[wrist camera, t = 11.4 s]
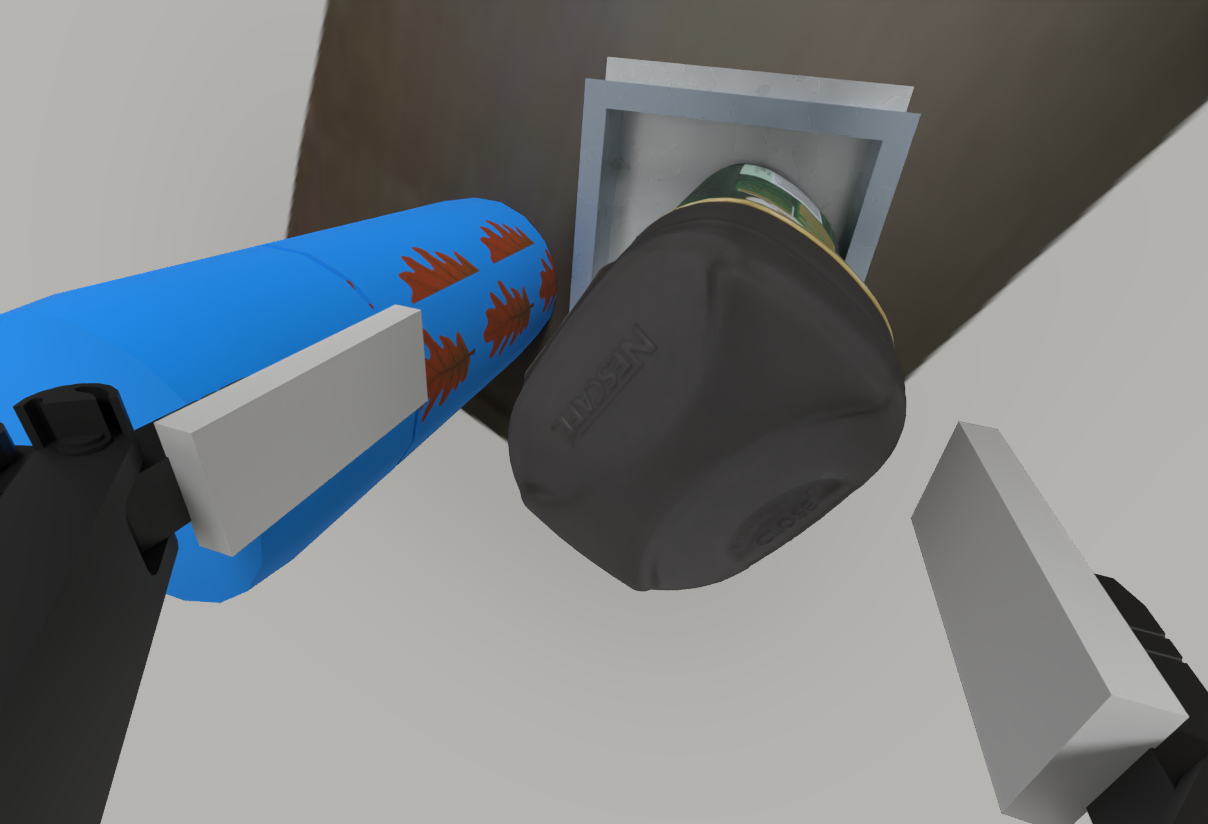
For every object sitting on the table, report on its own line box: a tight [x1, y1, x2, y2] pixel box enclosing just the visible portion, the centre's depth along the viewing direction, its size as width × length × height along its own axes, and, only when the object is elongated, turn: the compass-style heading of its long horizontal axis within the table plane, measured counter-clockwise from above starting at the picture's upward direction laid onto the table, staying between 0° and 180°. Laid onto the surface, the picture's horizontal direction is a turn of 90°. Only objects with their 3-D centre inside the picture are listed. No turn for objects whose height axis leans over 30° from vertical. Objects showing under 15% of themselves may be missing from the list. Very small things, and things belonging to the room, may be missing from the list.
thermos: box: [0, 198, 557, 603], centre depth 27 cm, size 11×11×25 cm
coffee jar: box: [508, 163, 906, 591], centre depth 19 cm, size 10×8×19 cm
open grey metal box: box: [569, 57, 921, 312], centre depth 29 cm, size 13×17×9 cm
